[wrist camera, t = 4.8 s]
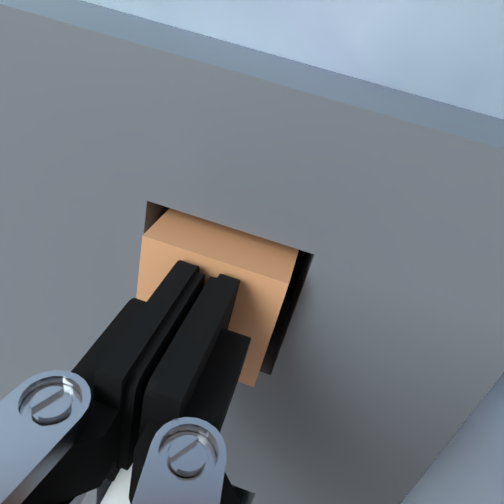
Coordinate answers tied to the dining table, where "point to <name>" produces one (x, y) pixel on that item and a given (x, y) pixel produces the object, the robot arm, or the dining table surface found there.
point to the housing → (259, 224)
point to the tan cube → (225, 262)
